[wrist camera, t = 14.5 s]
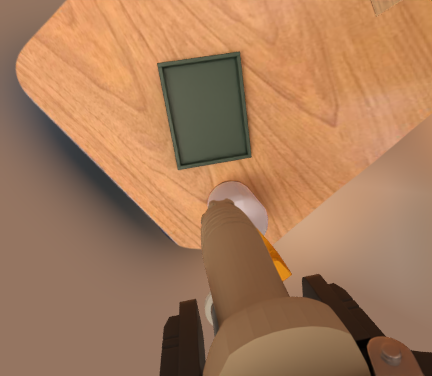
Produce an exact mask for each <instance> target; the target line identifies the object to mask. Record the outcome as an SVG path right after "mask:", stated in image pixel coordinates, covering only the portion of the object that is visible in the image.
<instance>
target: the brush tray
mask: <svg viewBox="0 0 432 376" xmlns="http://www.w3.org/2000/svg"><path fill="white" fill-rule="evenodd" d="M157 65H158V70H159V75H160V80H161V86H162V91H163V96H164V101H165V106H166V111H167V116H168V121H169V126H170V131H171V136H172V142H173V147H174V152H175V157H176V162H177V167H178V170H181V169H187V168H193V167H199V166H204V165H210V164H216V163H222V162H228V161H234V160H239V159H245V158H251V157H252V156H251V147H250V138H249V129H248V120H247V111H246V102H245V93H244V84H243V75H242V66H241V57H240V52H233V53H226V54H219V55H212V56H205V57H198V58H191V59H184V60H177V61H170V62H163V63H157Z"/></svg>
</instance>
